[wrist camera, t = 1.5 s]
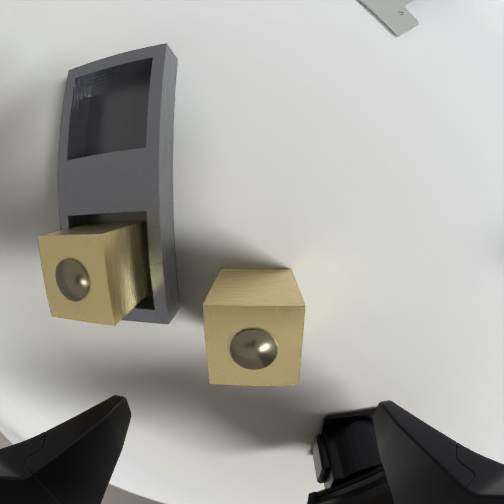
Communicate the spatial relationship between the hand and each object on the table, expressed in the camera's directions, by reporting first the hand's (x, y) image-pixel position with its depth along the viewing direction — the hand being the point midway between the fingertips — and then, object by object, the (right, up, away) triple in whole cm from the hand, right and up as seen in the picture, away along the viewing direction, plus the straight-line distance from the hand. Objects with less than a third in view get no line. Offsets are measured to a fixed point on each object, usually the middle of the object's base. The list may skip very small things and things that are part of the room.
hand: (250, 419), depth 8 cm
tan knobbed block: (0, +2, +10) cm, 11 cm away
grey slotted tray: (-9, +10, +9) cm, 16 cm away
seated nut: (-9, +5, +10) cm, 14 cm away
